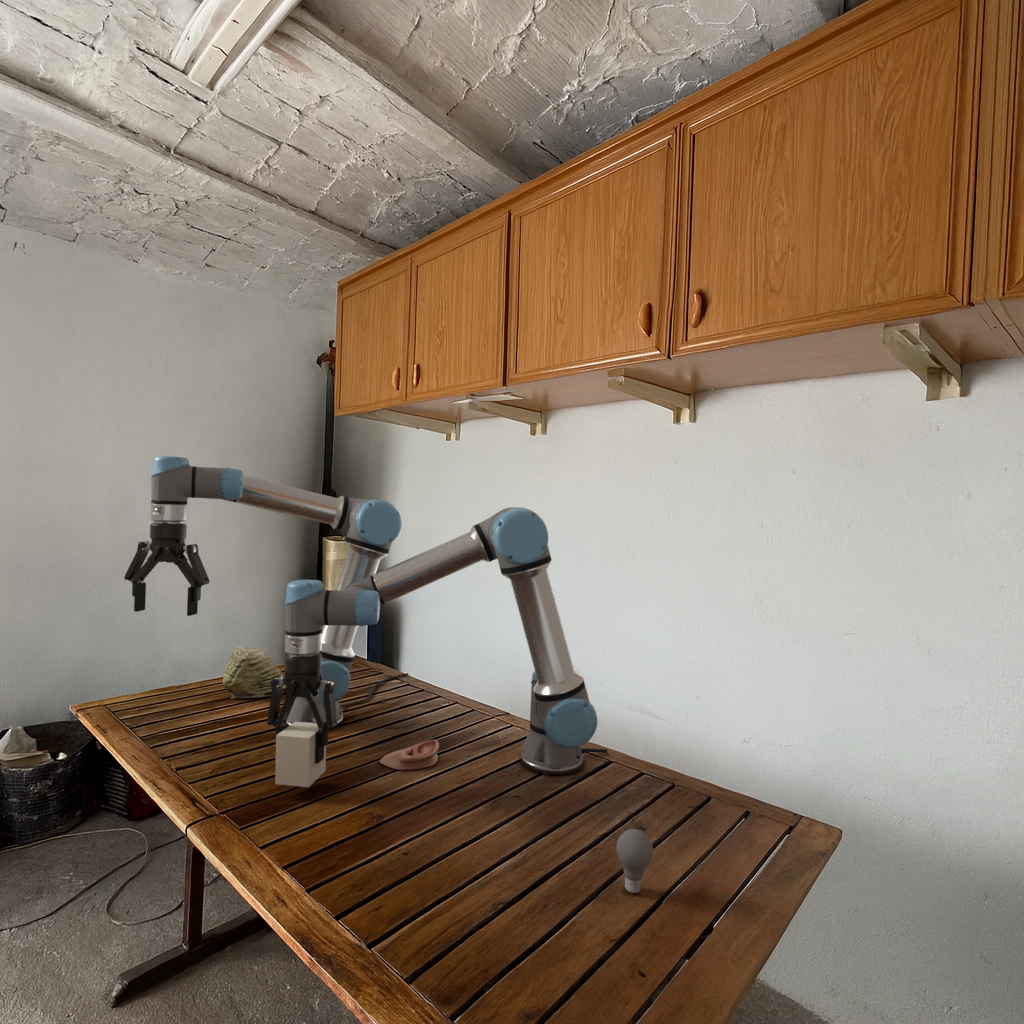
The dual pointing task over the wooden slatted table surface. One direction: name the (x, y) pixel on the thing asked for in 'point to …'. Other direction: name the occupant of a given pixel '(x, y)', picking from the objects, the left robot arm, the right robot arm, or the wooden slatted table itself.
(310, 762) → the brick
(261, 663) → the fossil
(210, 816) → the wooden slatted table surface
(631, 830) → the light bulb
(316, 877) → the wooden slatted table surface
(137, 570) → the left robot arm
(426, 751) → the anatomical model
